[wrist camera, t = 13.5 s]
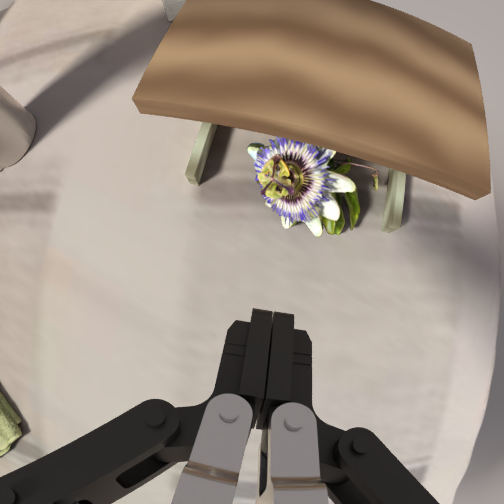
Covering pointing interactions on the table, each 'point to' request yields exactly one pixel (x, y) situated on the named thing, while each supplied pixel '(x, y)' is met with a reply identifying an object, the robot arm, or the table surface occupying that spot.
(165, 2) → the supplement box
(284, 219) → the passion flower
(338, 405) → the table surface
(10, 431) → the washcloth
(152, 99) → the shelf
